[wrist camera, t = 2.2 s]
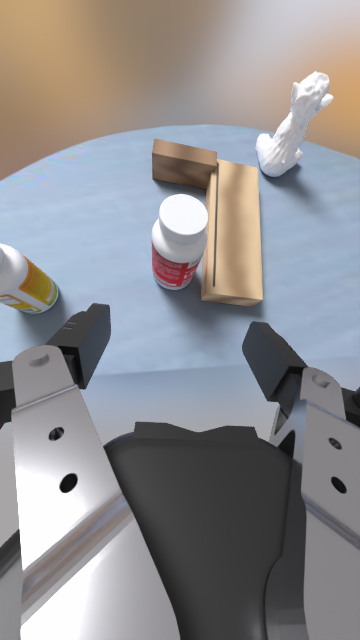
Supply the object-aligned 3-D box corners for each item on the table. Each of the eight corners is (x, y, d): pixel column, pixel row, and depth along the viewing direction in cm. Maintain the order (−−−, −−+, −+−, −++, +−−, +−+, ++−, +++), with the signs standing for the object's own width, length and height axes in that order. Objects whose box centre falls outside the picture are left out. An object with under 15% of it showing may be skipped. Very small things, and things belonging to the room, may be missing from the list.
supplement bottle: (45, 269, 25) (-19, 212, 16) (68, 298, 25) (15, 257, 15) (6, 290, 24) (-90, 242, 14) (28, 322, 23) (-56, 293, 14)
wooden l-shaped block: (248, 184, 34) (260, 161, 30) (251, 306, 28) (267, 297, 24) (154, 165, 32) (154, 138, 28) (135, 292, 26) (132, 279, 22)
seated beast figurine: (297, 161, 37) (361, 71, 26) (289, 191, 35) (355, 105, 24) (255, 142, 37) (301, 42, 26) (244, 170, 35) (288, 74, 23)
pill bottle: (184, 297, 27) (203, 253, 16) (145, 281, 27) (139, 225, 16) (198, 263, 29) (224, 203, 18) (162, 248, 28) (166, 177, 18)
